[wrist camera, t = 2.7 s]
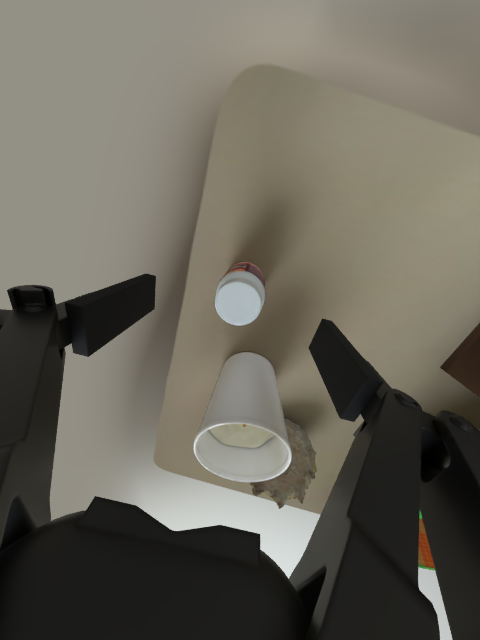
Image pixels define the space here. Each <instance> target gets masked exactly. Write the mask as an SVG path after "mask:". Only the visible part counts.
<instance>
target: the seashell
mask: <svg viewBox="0 0 480 640" xmlns="http://www.w3.org/2000/svg"><path fill="white" fill-rule="evenodd" d="M284 420H285V425H286V430H287V435H288V440H289V444H290V447H291V451H292V459H291V463H290V465H289V467H288V468H287V469H286V470H285V471H284V472H283V473H282V474H280V475H279V476H277V477H275V478H272V479H269V480H265V481H260V482H250V485H251V486H252V487H253V488H252V491H253V495H255V496H257V495H260V494H267V495H269V496H270V497H272V498H273V499H274V501H275V502H276V503H277V505H278V507H279V509H280V508H282V507H283V506H284V503H285V501H286V500H287V499H291V498H293V499H296V498H297V499H298V500H299V501H300V502H301V503H303V499H304V496H305V494H306V493H305V490H306V489H308V485H309V484H310V483H311V480H312V479H314V478H315V474H314V473H315V472H316V471H317V469H316V465H315V455H316V453H315V451H314V450H313V448H312V445H311V442H310V440H309V438H308V436H307V434H306V433H304V432H303V431H302V429H301V428H300V426H299V424H297V425H296V424H295V423H293V422H291V421H290V420H289V419H288V418H285V419H284Z"/></svg>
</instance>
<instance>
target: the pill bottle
mask: <svg viewBox="0 0 480 640" xmlns="http://www.w3.org/2000/svg"><path fill="white" fill-rule="evenodd" d="M265 294H266V293H265V285H264V277H263V274H262V272H261V270H260V269H259V268H258V267H257V266H256V265H255V264H253V263H250V262H239V263H237V264H235V265H233V266H232V267H231V268H230V269H229V270H228V271H227V273H226V274H225V275H224V277H223V278H222V279H221V280H220V282H219V284H218V287H217V291H216V297H215V307H216V310H217V313H218V314H219V316H220V317H221V318H222V319H223V320H224V321H226V322H227V323H230V324H232V325H246V324H249V323H251V322H252V321H254V320H255V319H256V318H257V317H258V315H259V313H260V311H261V308H262V306H263V304H264V301H265Z"/></svg>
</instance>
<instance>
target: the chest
mask: <svg viewBox="0 0 480 640" xmlns="http://www.w3.org/2000/svg"><path fill="white" fill-rule="evenodd" d="M440 368H441V369H443V370H444V371H445V372H447V373H448V374H449V375H451V376H452V377H453V378H455V379H456V380H457V381H459V382H460V383H461V384H463V385H464V386H465V387H467V388H468V389H469V390H471V391H472V392H473V393H475V394H476V395H477V396H478V397H480V324H479V325H478V326H477V328H476V329H475V330H474V331H473V332H472V333H471V334H470V335H469V336H468V338H467V339H466V340H465V341H464V342H463V343H462V344H461V345H460V346H459V348H458V349H457V350H456V351H455V352H454V353H453V354H452V355H451V356H450V358H449V359H448V360H447V361H446V362H445V363H444V364H443V365H442V366H441V367H440Z"/></svg>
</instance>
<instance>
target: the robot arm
mask: <svg viewBox="0 0 480 640" xmlns="http://www.w3.org/2000/svg"><path fill="white" fill-rule="evenodd" d="M155 284H156V276H154V275H150V274H143V275H141V276H138V277H135V278H132V279H129V280H127V281H124V282H121V283H118V284H115V285H112V286H110V287H107V288H104V289H101V290H98V291H95V292H93V293H88V294H85V295H82V296H81V297H80V296H79V297H77V298H75V299H71V300H68V301H65V302H62V303H60V304H57V305H56V303H55V298H54V293H53V290H52V288H50V287H46V286H39V285H24V286H17V287H13V288H10V289H8V290H7V292H8V295H9V298H10V301H11V305H12V308H13V310H2V309H0V640H440V632H439V625H438V619H437V614H436V612H435V609H434V607H433V605H432V603H431V602H430V601H429V600H428V599H427V598H426V597H425V595H424V594H422V592H421V591H420V590H419V587H418V555H419V517H420V511H421V515H422V519H423V523H424V527H425V531H426V535H427V539H428V543H429V547H430V551H431V555H432V559H433V563H434V567H435V571H436V575H437V578H438V583H439V587H440V590H441V595H442V599H443V602H444V607H445V610H446V614H447V618H448V622H449V626H450V630H451V634H452V638H453V640H480V432H479V431H478V430H477V429H476V428H475V427H474V426H473V425H472V424H471V423H470V422H469V421H467V420H465V419H464V418H463V417H461V416H458V415H456V414H454V413H452V412H449V411H445V410H443V411H441V412H440V413H439V414H438V415H437V416H436V417H435V416H432V415H430V414H428V413H426V412H423V411H422V408H421V406H420V405H419V404H418V403H417V402H416V401H415V400H414V399H413V398H412V397H410V396H409V395H407V394H406V393H403V392H401V391H399V390H396V389H392V388H391V387H390V386H389V385H388V384H387V383H386V381H385V380H384V379H383V378H382V377H381V376H380V375H379V373H378V372H377V371H376V370H375V369H374V368H373V366H372V365H371V364H370V363H369V362H368V361H366V360H365V359H364V358H363V357H362V356H361V355H360V354H359V353H358V351H357V350H356V349H355V348H354V347H353V345H352V344H351V343H350V342H349V341H348V340H347V338H346V337H345V336H344V335H343V334H342V332H341V331H340V330H339V329H338V328H337V327H336V325H335V324H334V323H333V322H332V321H330V320H326V319H322V320H321V322H320V325H319V327H318V329H317V331H316V333H315V335H314V337H313V339H312V342H311V344H310V346H309V350H310V352H311V354H312V357H313V359H314V361H315V363H316V366H317V368H318V370H319V372H320V375H321V377H322V379H323V381H324V384H325V386H326V388H327V390H328V393H329V395H330V397H331V399H332V402H333V404H334V406H335V408H336V411H337V413H338V415H339V417H340V418H341V419H345V420H349V421H353V422H354V421H355V420H356V419H357V417H358V416H359V415H360V414H361V415H362V417H363V419H364V422H363V423H362V424H361V425H360V427H359V428H358V429H357V431H356V432H355V433H354V434H353V435H354V436H355V439H354V441H353V443H352V446H351V448H350V450H349V452H348V455H347V457H346V459H345V462H344V464H343V466H342V468H341V471H340V473H339V475H338V477H337V480H336V482H335V484H334V486H333V489H332V491H331V493H330V496H329V498H328V500H327V502H326V505H325V507H324V509H323V511H322V514H321V516H320V518H319V520H318V523H317V525H316V527H315V530H314V532H313V534H312V536H311V539H310V541H309V543H308V545H307V548H306V550H305V552H304V554H303V556H302V558H301V560H300V562H299V563H298V565H297V566H296V568H295V569H294V571H293V572H292V574H291V576H290V578H289V579H288V578H287V576H286V575H285V573H284V572H283V571H282V570H281V568H280V567H278V565H277V564H276V563H275V562H274V561H273V560H272V559H271V558H270V557H269V556H268V555H266V554H265V553H264V552H263V551H261V550H260V534H257V533H253V532H248V531H244V530H239V529H235V528H230V527H227V526H222V525H217V526H211V527H204V528H197V529H191V530H184V531H172V530H170V529H169V528H167V527H166V526H164V525H163V524H162V523H160V522H159V521H157V520H156V519H154V518H153V517H152V516H150V515H149V514H147V513H146V512H144V511H143V510H142V509H140V508H139V507H137V506H135V505H131V504H127V503H122V502H118V501H113V500H109V499H105V498H100V497H96V496H95V497H94V499H93V501H92V502H91V504H90V506H89V507H88V509H87V510H86V511H80V512H76V513H72V514H68V515H65V516H63V517H60V518H57V519H55V520H53V521H51V513H50V487H51V479H52V469H53V459H54V452H55V443H56V433H57V425H58V416H59V407H60V399H61V390H62V381H63V371H64V363H65V354H66V353H65V349H64V347H66V346H67V345H69V344H71V343H72V347H73V353H75V354H79V355H84V356H87V357H89V356H90V355H92V354H93V353H94V352H96V351H97V350H98V349H100V348H101V347H103V346H104V345H105V344H107V343H108V342H109V341H111V340H112V339H114V338H115V337H116V336H118V335H119V334H120V333H122V332H123V331H125V330H126V329H127V328H129V327H130V326H132V325H133V324H134V323H135V322H137V321H138V320H140V319H141V318H143V317H144V316H145V315H147V314H148V313H149V312H151V311H152V310H154V307H155Z"/></svg>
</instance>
